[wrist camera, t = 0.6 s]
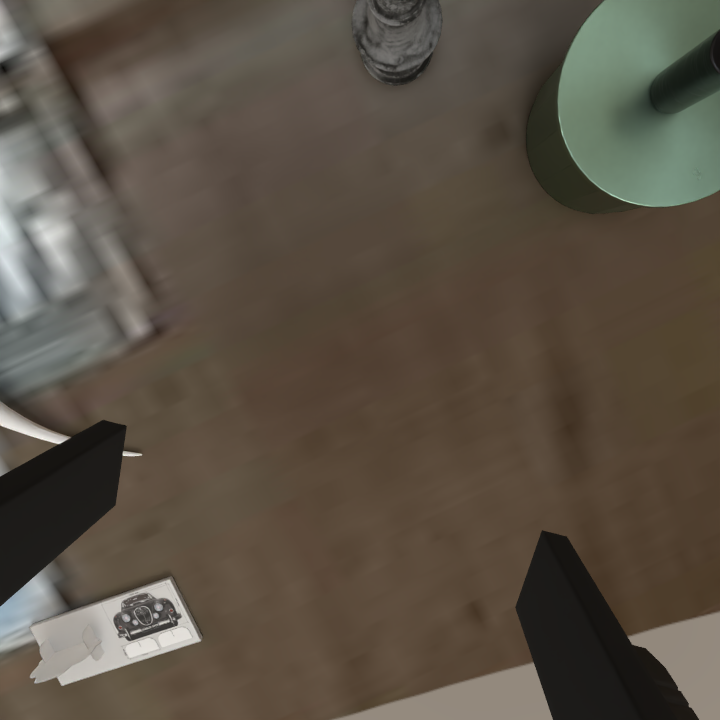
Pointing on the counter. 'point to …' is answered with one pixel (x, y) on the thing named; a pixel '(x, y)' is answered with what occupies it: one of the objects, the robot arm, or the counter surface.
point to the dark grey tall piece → (396, 37)
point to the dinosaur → (34, 428)
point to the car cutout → (114, 633)
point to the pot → (560, 159)
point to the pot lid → (644, 101)
